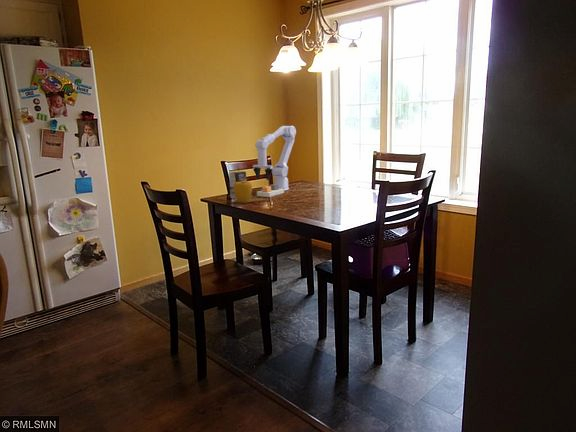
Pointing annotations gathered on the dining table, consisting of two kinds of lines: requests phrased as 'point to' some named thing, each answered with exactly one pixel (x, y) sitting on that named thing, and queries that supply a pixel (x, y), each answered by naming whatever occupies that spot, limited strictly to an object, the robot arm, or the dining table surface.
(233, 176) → the coffee box
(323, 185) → the dining table surface
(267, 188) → the plug
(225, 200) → the dining table surface
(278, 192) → the white rectangular base
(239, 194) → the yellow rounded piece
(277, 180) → the robot arm
